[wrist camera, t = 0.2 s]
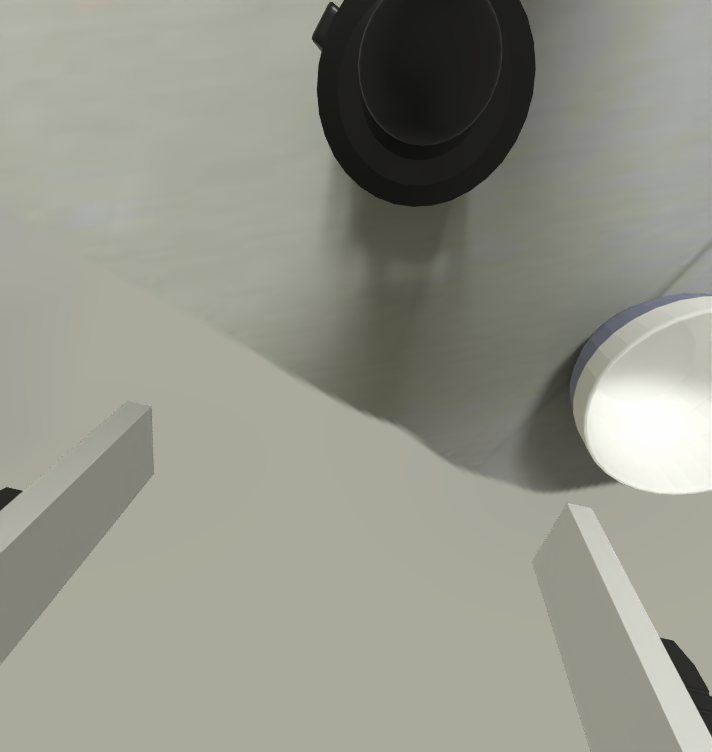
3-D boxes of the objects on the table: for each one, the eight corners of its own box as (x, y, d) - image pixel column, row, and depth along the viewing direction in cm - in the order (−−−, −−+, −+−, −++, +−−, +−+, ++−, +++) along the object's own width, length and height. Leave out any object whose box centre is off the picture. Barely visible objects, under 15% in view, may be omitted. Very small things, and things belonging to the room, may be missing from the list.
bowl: (750, 391, 39) (843, 455, 31) (575, 449, 44) (614, 518, 36) (718, 235, 34) (822, 261, 25) (522, 321, 39) (554, 367, 30)
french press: (512, 109, 31) (703, 22, 11) (430, 217, 36) (460, 297, 15) (386, -5, 29) (339, -373, 9) (314, 124, 33) (168, 73, 13)
